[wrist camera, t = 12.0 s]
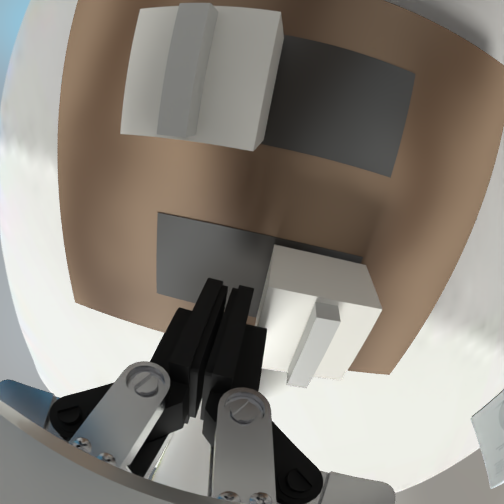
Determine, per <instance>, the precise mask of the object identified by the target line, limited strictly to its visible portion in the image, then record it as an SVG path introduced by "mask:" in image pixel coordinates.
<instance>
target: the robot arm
mask: <svg viewBox="0 0 504 504" xmlns="http://www.w3.org/2000/svg"><path fill="white" fill-rule="evenodd" d="M253 291H254V288H251V287H247V286H242V285H239V287H238V289H237V288H232V290H231V293H230V296H229V299H228V302H227V305H226V308H225V304H226V298H227V292H228V286H224V285H223V281H221V280H217V279H212V278H208V279H207V281H206V283H205V285H204V287H203V289H202V291H201V293H200V295H199V297H198V300H197V302H196V304H195V306H194V308H193V310H192V311H191V310H188V309H184V308H180V307H179V308H178V309H177V311H176V312H175V314H174V316H173V318H172V320H171V322H170V324H169V326H168V328H167V330H166V332H165V333H164V335H163V337H162V339H161V341H160V343H159V345H158V347H157V349H156V351H155V353H154V355H153V357H152V359H151V361H150V362H144V361H142V362H137V363H134V364H132V365H130V366H128V367H127V368H126V369H125V370H124V371H123V372H122V374H121V375H120V376H119V378H118V379H117V380H116V381H115V383H111V384H108V385H104V386H101V387H97V388H94V389H90V390H86V391H83V392H79V393H75V394H71V395H67V396H64V397H62V398H59V397H55V395H54V394H53V393H49V392H46V391H43V390H40V389H36V388H33V387H30V386H27V385H25V384H22V383H19V382H16V381H13V380H3V381H1V382H0V504H395V492H394V490H393V488H392V487H391V486H390V485H389V484H387V483H384V482H380V481H374V480H369V479H363V478H358V477H353V476H349V475H344V474H340V473H336V472H332V471H331V472H330V473H327V472H323V471H319V469H318V468H317V467H316V466H315V465H314V464H313V463H312V462H311V461H310V460H309V459H308V458H307V457H306V456H305V455H304V454H303V453H302V452H301V451H300V450H299V449H298V448H297V447H296V446H295V445H294V444H293V443H292V442H291V441H290V440H289V439H288V438H287V436H286V435H285V434H284V433H283V432H282V431H281V430H280V429H279V428H278V427H277V426H276V425H275V424H274V423H273V421H272V419H271V408H270V404H269V402H268V401H267V399H266V398H265V397H264V396H263V395H262V394H261V393H260V392H258V389H259V383H260V376H261V370H262V363H263V356H264V350H265V343H266V336H267V328H262V327H258V326H253V325H249V324H246V322H247V318H248V313H249V309H250V305H251V300H252V296H253ZM224 310H225V311H224ZM201 400H202V404H201V415H200V420H203V429H202V434H203V435H204V437H205V438H206V440H207V441H208V442H209V444H210V445H211V446H210V459H209V474H208V490H207V496H203V495H199V494H195V493H191V492H187V491H184V490H180V489H177V488H173V487H170V486H167V485H164V484H160V483H157V482H154V481H152V480H149V479H148V477H149V475H150V474H151V472H152V470H153V469H154V467H155V465H156V463H157V462H158V460H159V458H160V456H161V455H162V453H163V451H164V449H165V448H166V446H167V444H168V442H169V441H170V439H171V437H172V435H173V432H175V431H177V430H180V429H182V428H183V426H184V423H185V424H188V422H189V419H190V417H193V418H196V416H197V413H198V409H199V406H200V403H201Z"/></svg>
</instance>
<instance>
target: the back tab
mask: <svg viewBox="0 0 504 504" xmlns="http://www.w3.org/2000/svg"><path fill="white" fill-rule="evenodd" d="M381 311H382V307H381V304H380V301H379V298H378V295H377V293H376V290H375V287H374V285H373V282H372V279H371V277H370V274H369V272H368V269H367V267H366V265H363V264H359V263H355V262H350V261H346V260H341V259H337V258H333V257H328V256H324V255H319V254H315V253H311V252H306V251H302V250H297V249H293V248H288V247H284V246H279V245H275V244H274V248H273V252H272V257H271V261H270V265H269V269H268V273H267V277H266V281H265V285H264V289H263V293H262V297H261V301H260V305H259V309H258V313H257V317H256V322H255V326H258V327H262V328H267V336H266V343H265V350H264V356H263V363H262V368H264V369H269V370H275V371H280V372H286V373H287V385H289V386H295V387H302V388H307V386H308V385H309V383H310V381H311V379H312V377H318V378H325V379H333V380H342V378H343V376H344V375H345V373H346V372H347V370H348V369H349V367H350V365H351V364H352V362H353V361H354V359H355V357H356V356H357V354H358V352H359V351H360V349H361V347H362V345H363V344H364V342H365V340H366V339H367V337H368V335H369V333H370V332H371V330H372V328H373V326H374V324H375V322H376V321H377V319H378V317H379V315H380V313H381Z"/></svg>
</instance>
